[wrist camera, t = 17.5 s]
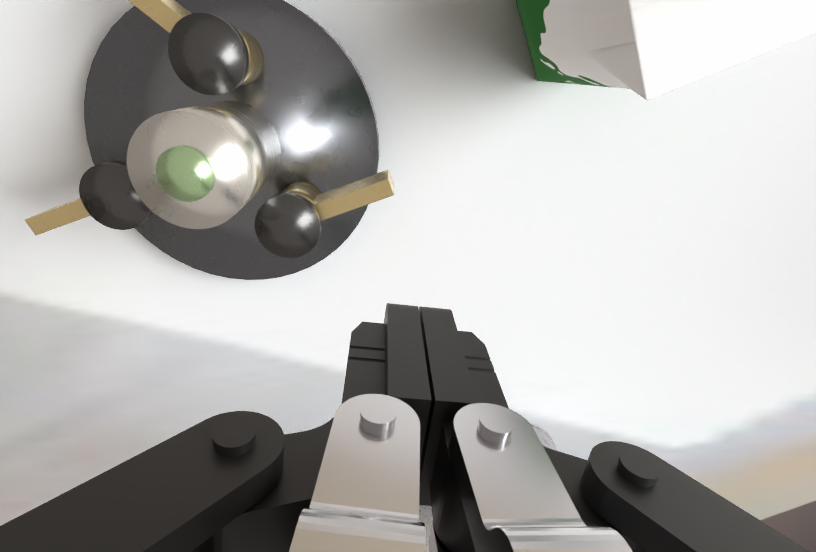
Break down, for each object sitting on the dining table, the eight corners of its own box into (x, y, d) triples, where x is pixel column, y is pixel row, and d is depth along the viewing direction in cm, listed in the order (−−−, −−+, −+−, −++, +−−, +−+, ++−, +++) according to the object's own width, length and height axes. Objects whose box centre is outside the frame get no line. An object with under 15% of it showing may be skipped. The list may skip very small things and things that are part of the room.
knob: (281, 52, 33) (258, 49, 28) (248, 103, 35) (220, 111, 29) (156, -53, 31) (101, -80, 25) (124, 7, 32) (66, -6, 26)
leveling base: (357, 288, 43) (345, 360, 33) (107, 247, 41) (8, 309, 31) (402, 24, 35) (405, 5, 24) (90, -47, 33) (-57, -102, 22)
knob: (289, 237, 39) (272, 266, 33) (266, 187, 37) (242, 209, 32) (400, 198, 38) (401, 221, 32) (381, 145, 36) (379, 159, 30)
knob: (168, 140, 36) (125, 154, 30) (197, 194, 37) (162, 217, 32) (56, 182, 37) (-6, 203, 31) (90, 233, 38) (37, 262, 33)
